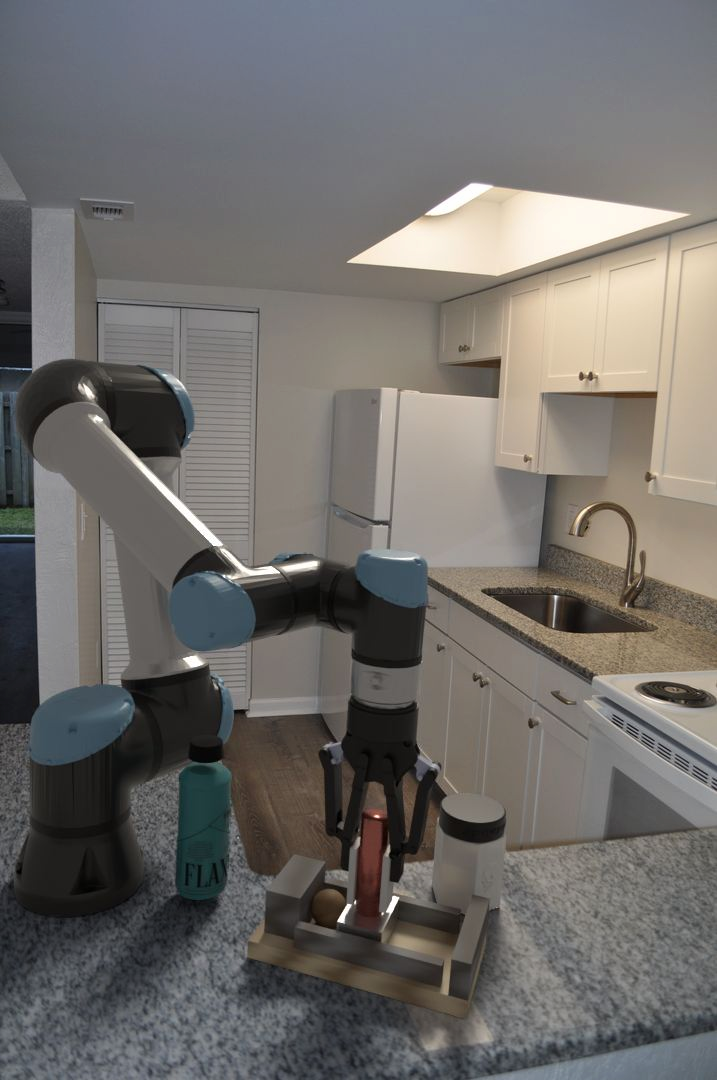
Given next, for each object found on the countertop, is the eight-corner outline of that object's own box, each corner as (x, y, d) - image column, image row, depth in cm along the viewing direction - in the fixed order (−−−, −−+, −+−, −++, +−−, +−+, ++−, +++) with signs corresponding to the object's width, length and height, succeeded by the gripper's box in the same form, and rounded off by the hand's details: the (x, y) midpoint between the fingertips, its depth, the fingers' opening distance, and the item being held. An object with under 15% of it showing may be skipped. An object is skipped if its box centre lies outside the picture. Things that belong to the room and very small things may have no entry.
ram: (335, 947, 87) (343, 825, 85) (355, 911, 94) (363, 797, 92) (380, 959, 86) (389, 835, 84) (397, 921, 92) (406, 806, 90)
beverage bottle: (174, 915, 94) (179, 752, 91) (172, 883, 101) (176, 729, 98) (231, 909, 96) (238, 749, 93) (224, 878, 102) (231, 727, 100)
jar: (459, 925, 96) (467, 830, 94) (417, 889, 103) (424, 800, 101) (514, 904, 101) (523, 813, 99) (470, 871, 108) (478, 786, 106)
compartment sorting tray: (247, 957, 88) (249, 897, 87) (289, 897, 99) (292, 844, 98) (466, 1019, 81) (472, 954, 80) (485, 947, 92) (490, 890, 91)
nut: (310, 936, 90) (302, 901, 90) (322, 915, 94) (315, 882, 93) (343, 935, 88) (335, 900, 88) (354, 914, 92) (347, 881, 92)
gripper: (299, 695, 85) (288, 903, 88) (451, 721, 80) (433, 939, 83) (324, 675, 92) (313, 868, 95) (465, 698, 87) (448, 900, 90)
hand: (369, 901), depth 89 cm, fingers closed on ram, 3 cm apart
